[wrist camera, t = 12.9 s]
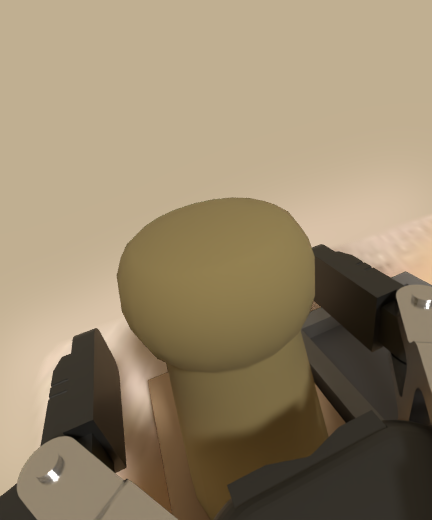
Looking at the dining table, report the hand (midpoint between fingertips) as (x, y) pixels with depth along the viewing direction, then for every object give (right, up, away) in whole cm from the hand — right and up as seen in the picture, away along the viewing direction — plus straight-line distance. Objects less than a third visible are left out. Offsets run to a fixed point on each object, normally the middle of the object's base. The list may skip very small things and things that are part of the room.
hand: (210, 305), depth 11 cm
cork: (+2, -7, +2) cm, 7 cm away
